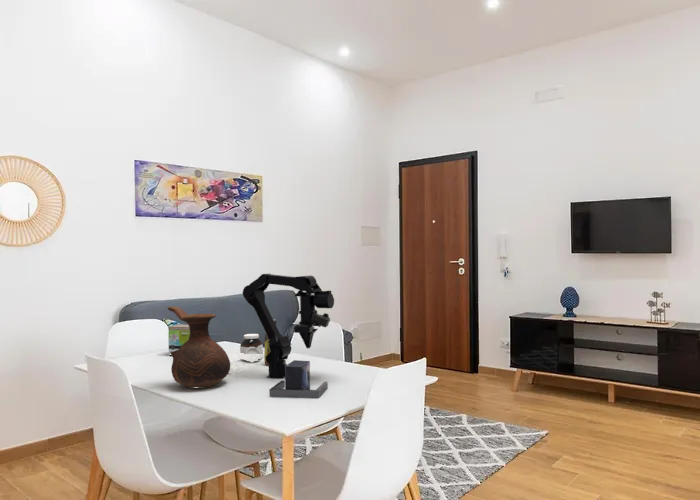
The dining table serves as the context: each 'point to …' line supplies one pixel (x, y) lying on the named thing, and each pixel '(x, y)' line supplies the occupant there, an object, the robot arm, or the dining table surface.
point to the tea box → (178, 336)
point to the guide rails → (297, 391)
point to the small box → (297, 375)
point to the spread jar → (251, 344)
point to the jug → (198, 354)
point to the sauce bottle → (267, 346)
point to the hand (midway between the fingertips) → (308, 348)
